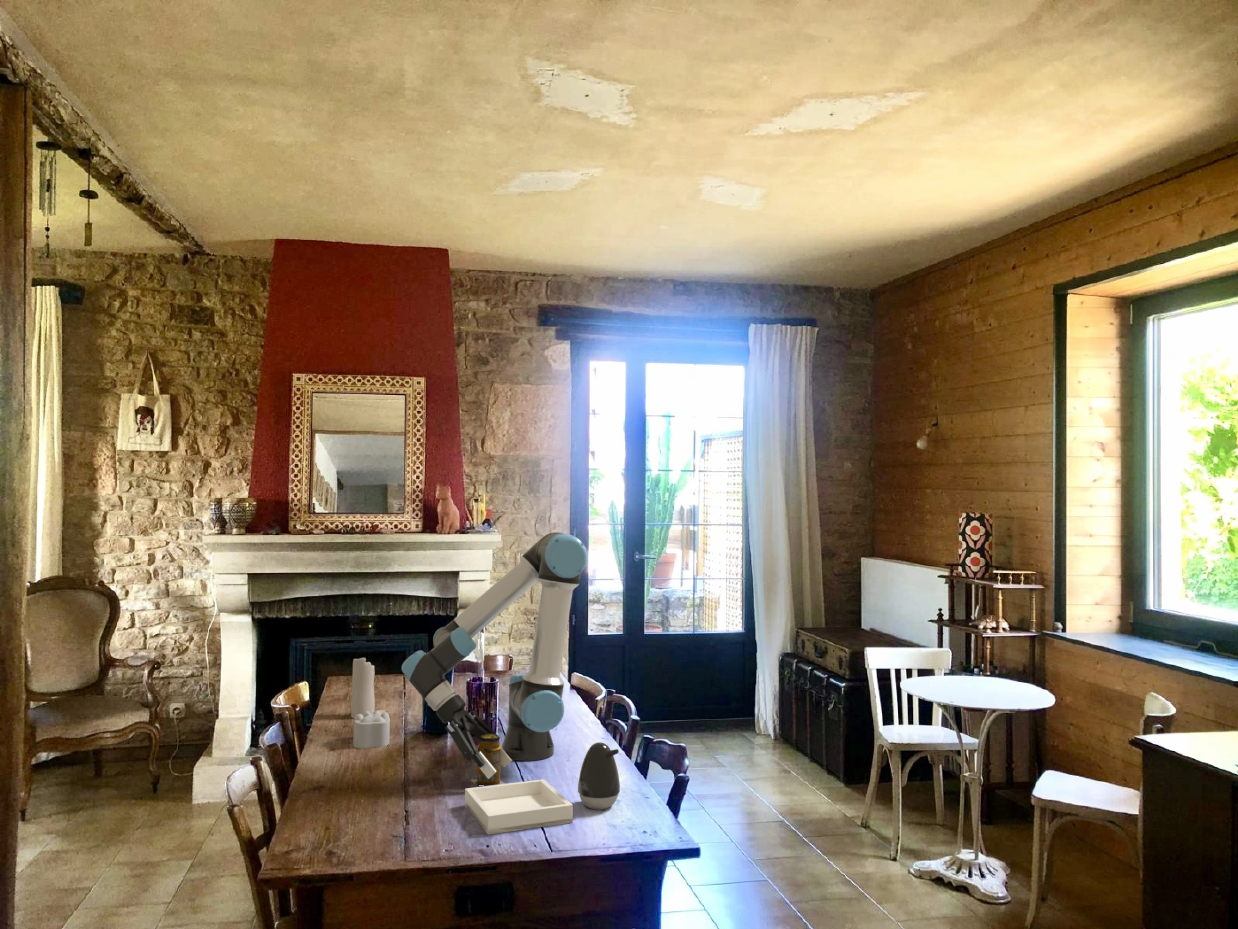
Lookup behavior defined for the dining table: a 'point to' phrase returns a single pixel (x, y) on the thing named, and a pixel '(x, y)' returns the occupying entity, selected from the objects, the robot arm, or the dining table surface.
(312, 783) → the dining table surface
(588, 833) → the dining table surface
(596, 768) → the pump dispenser
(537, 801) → the tray
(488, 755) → the condiment
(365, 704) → the candle
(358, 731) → the lumpy-topped squat cylinder
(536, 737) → the robot arm
